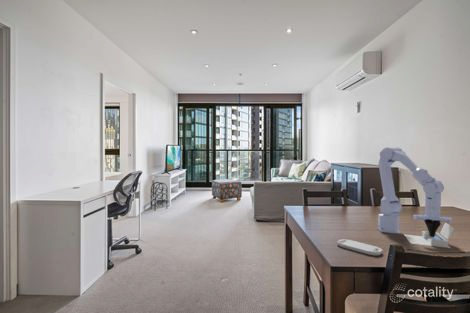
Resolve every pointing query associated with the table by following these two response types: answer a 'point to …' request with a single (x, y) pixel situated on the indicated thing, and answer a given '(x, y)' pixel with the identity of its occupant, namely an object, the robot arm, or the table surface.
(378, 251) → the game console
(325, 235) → the table surface
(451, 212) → the table surface
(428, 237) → the white storage tray
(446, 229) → the cover
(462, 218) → the table surface
